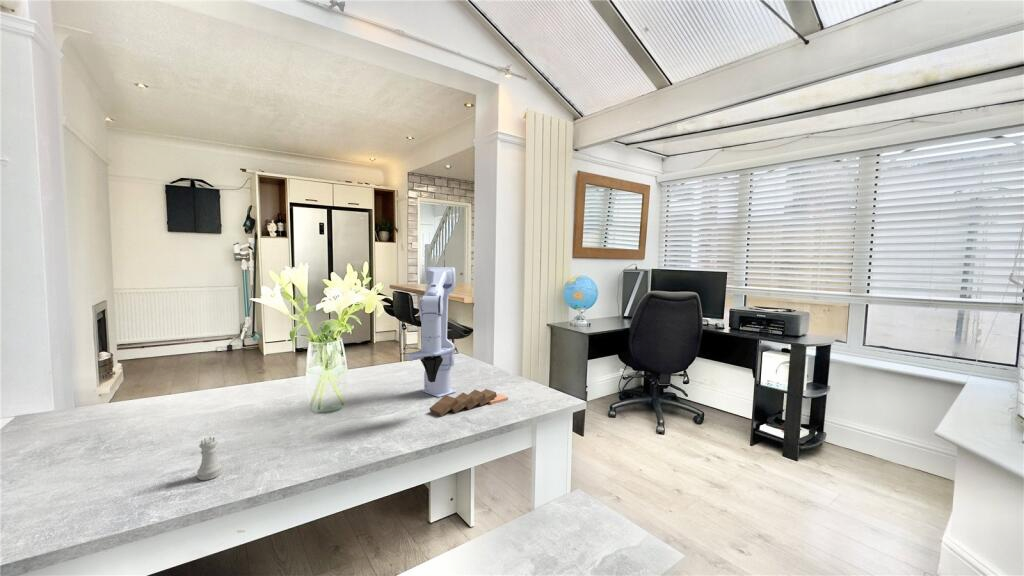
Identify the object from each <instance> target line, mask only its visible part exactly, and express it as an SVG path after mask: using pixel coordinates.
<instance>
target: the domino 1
mask: <svg viewBox="0 0 1024 576" xmlns="http://www.w3.org/2000/svg"><path fill="white" fill-rule="evenodd" d="M457 403H458V402H457V399H456V397H453V396H450V395H444V396H442V397H440V399H439V400H437V401H436V402H435V403H434V404H433V405H432V406H430V407H429V409H428V410H429V412H430V414H433V415H436V416H439V417H440V418H441V417H443V416H444V415H446V414H447V413H448V412H449V411H450V409H451V408H452V407H454V406H455V405H456V404H457Z"/></svg>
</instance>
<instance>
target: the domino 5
mask: <svg viewBox="0 0 1024 576" xmlns="http://www.w3.org/2000/svg"><path fill="white" fill-rule="evenodd" d="M496 395H497V397H495V398H494V399H492V400H491V401H489V402H487V403H486V404H489V405H496V404H499V403H503V402H506V401H509V397H508V396H505V395H504V394H501V393H496Z"/></svg>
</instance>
